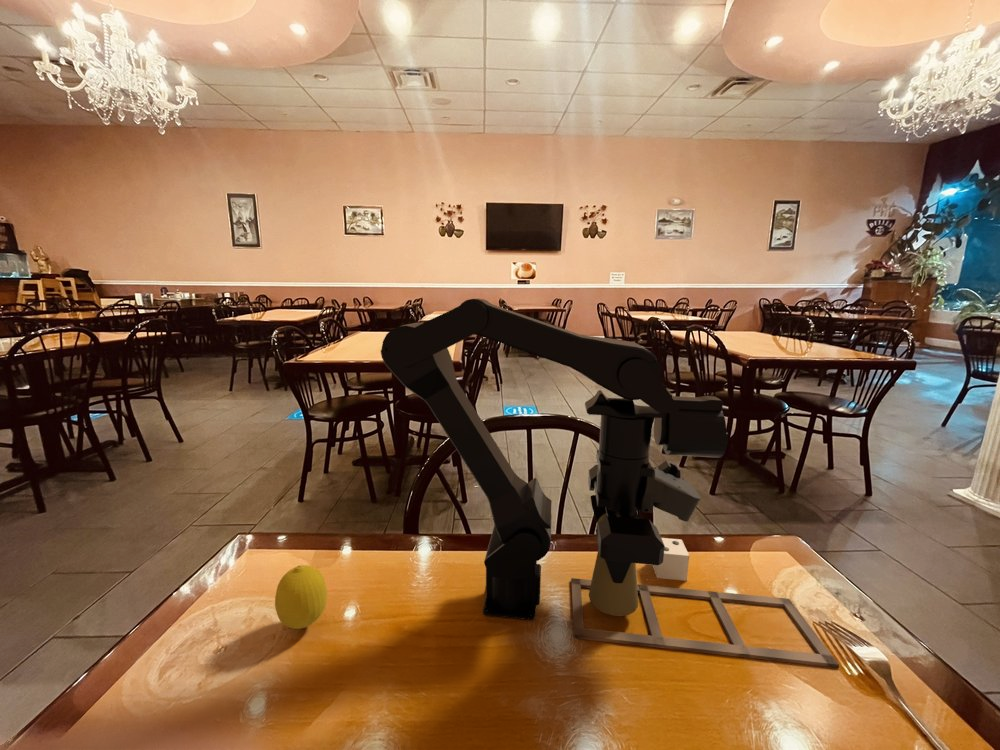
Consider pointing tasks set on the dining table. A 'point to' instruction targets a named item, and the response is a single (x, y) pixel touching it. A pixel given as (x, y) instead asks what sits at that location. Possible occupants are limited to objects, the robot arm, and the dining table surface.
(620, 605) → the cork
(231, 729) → the dining table surface
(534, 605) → the robot arm
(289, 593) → the lemon
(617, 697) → the dining table surface
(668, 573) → the die
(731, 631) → the three-pane window frame
